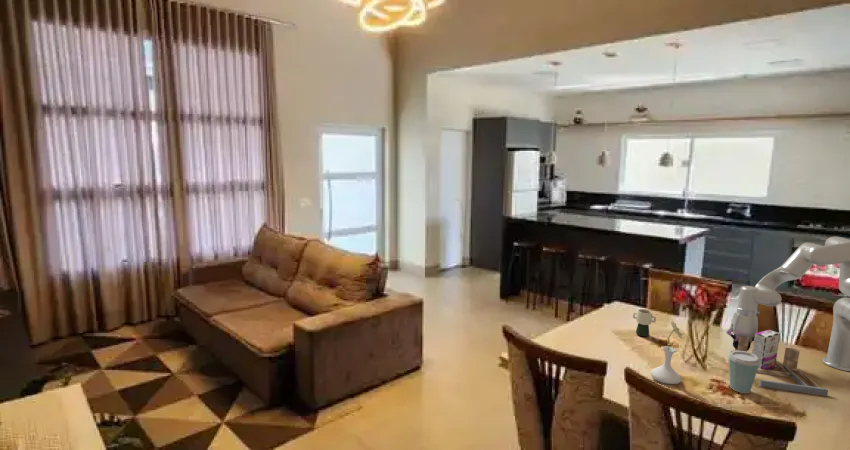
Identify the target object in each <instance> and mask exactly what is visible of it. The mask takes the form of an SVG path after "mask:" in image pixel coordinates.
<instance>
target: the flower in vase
mask: <svg viewBox="0 0 850 450" xmlns="http://www.w3.org/2000/svg"><path fill="white" fill-rule="evenodd" d="M670 324H671V327H672V331H671V332H670V334H669V335H668V336H666V338H667V346H666V345H665V346H662V347H661V348H662V350H663V352H664V362H663V364H662V365H660V366H657V367H655V368H653V369H651V371H650V376H651V378H653V380H654V379H655V380H656V381H658V382H660V383H663V384H667V385H677V384H679V383H681V382H682V377H681V376H680V374H679V373H678V372H677V371H676V370H675V369H674V368H673V366H672V365H671V361H672V357H673V355H674V353H675V352H677V349H676V348H675V347H671V346H670V345H674V344H675V343H674V342H672V343H671V342H670V337H671V335H673V333H674V332H675V334H676V335H677V337H678V338H679V339H683V335H682V333H681V331H680V328H679V327H678V326H677V324H676V322H674V320H670Z"/></svg>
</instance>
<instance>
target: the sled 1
mask: <svg viewBox="0 0 850 450" xmlns="http://www.w3.org/2000/svg"><path fill="white" fill-rule="evenodd" d="M748 341H749V336H741V335H739V338H738V342H739V343H738V349H735V348H734V351H746V352H748V351H747V348H748ZM732 351H733V350H730V353H731V352H732ZM775 367H777V369H779V370H780V371H778V370H773V369H769V370H766V369H757V373H756V374H763V375H764V374H765V375H773V376H780V377H781V376H782V377H788V378H791V377H790V373H789V372H787V371H786V370H785V369H784V368H783V365H781V364H779V363H778V362H777V361H776V364H775Z"/></svg>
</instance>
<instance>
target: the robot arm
mask: <svg viewBox="0 0 850 450" xmlns="http://www.w3.org/2000/svg"><path fill="white" fill-rule="evenodd" d="M835 264H838V265H839V276H838V278H839V279H838V289H839V291H840V292H841V293H842V294H844V295H845V296H847V297H842V298H839V299H837V300H836V301H835V303H834V304H833V312H832V313H833V315H832V317H833V319H832V320H833V321H832V327H831V333H830V338H829V344H828V350H827V353H826V354H827V355H826V356H824V357H821V362H822V363H823V364H825V365H826V366H828V367H830V368H834V369H836V370H840V371H844V372H845V371H846V372H850V239H848V238H845V237H841V236H830V237H829V238H826V240H825V242H824V245H820V244H817V243H813V242H804V243H802V244H801V245H799V246H798V248H796V249H795V251H794V252H793V253H791V255H790V256H789V257H788V258H787V259H786V260H785V261H784V262H783V263H782V265H780V266H779V267H778V268H776V269H774V270H772V271H770V272H768V273H767V274H765V275H764V276H763V277H762V278H761V279H760V280H759V281H758V282H757V283H756V285H755V286H751V285H743V286H741V287H740V288H739V295H738V301H737V307H736V308H737V309H736V312H734V314H733V315H732V319H731V322H730V326H729V328H728V330H726V334H727V335H729V336H730V337H731V338H732V341H733V342H732V347H733V348H734V350H735V349H738V343H739V342H738V338H739V335H741V336H749V341H748V348H747V352H749V351H750V349H751V345H752V343H753V342H754V336H755V333H758V329H759V320H758V316H757V315H760V313H761V312H760V310H758V305H759V304H760V305H762V306H763V305H764V306H768V307H776V306H778V305H780V304H781V303H782V295H781V294H780V293H779V292H778V291H776V289H777V288H778V287H779V286H780V285H782V284H783V283H785V282H788V281H789V282H790V281H794V280H798V279H801V278H802V277H803V276H804V275H805V274H806V273H807V272H808V271H809V270H810V269H811V267H812V266H813V265H815V266H828V265H835Z"/></svg>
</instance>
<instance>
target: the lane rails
mask: <svg viewBox="0 0 850 450" xmlns="http://www.w3.org/2000/svg"><path fill="white" fill-rule="evenodd" d="M782 367H783V368H784V369H785V370H786V371H787V372H789V373H790V377H789V378H791V379H792V380H794V382H795V383H797V384H794V383H787V382H780V381H773V380H772V381H771V380H766V379H760V381H759V386H760V387H761V386H762V388H770V389H775V390H781V391H782V390H784V391H788V392H789V391H791V392H797V393H803V394H805V393H806V394H811V395H818V396H824V397H827V396H828V393H829V389H828V388H824V387H821V388H818V387H814V386H812V387H810V386H809V385H808V384H807V383H806V382H805V381H804V380H802V378H800V377H799V376H798V375H797V374H796V373H795V372H794V371H791V370H789V369H788V368H787V367H786V366H783V365H782ZM794 373H795V374H796V375H797V376H798V377H799V378H798V377H797V376H796V375H795V374H794ZM803 381H804V382H805V383H806V384H807V385H808V386H807V385H806V384H805V383H804V382H803Z"/></svg>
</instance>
